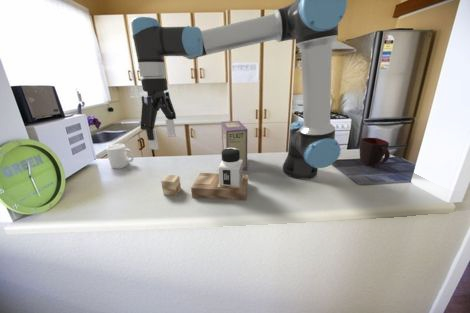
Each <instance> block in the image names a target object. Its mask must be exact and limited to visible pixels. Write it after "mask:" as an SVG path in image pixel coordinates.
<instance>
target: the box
mask: <svg viewBox="0 0 470 313" xmlns="http://www.w3.org/2000/svg"><path fill="white" fill-rule="evenodd" d="M220 125H221V141H222V142H221V143H222V150H224V149H226V148H236V149H238V150H239V151H240V160H243V172H248V128H247V127H246V126H245V125H244V124H243V123H242V122H241V121H240V120H231V121H221V124H220Z"/></svg>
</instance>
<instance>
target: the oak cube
mask: <svg viewBox="0 0 470 313" xmlns="http://www.w3.org/2000/svg"><path fill="white" fill-rule="evenodd" d="M161 187H162V193H163V196H177V195H178V193H179V192H180V191H181V189H182V186H181V179H180V175H179V174H178V175H177V174H166V175H165V176H164V177H163V179H162V180H161Z"/></svg>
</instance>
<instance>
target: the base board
mask: <svg viewBox="0 0 470 313" xmlns="http://www.w3.org/2000/svg"><path fill="white" fill-rule="evenodd" d="M248 181H249V175H248V174H243V177H242V181H241V184H240V187H234V186H222V185H219V173H212V172H211V173H210V172H200V173H198V176H197V177H196V179H195V181H194V182H193V184H192V186H191V187H190V190H191V197H192V198H201V199H218V200H233V201H234V200H235V201H246V199H247V192H248V185H249V183H248Z"/></svg>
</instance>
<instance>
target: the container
mask: <svg viewBox="0 0 470 313" xmlns="http://www.w3.org/2000/svg"><path fill="white" fill-rule="evenodd" d="M217 168H218V174H219V185H222V186H234V187H240V184H241V181H242V177H243V175H244V174H243V172H244V171H243V160H240V151H239V150H238V149H236V148H226V149H224V150H223V149H222V150H221V162H220V164H219V165H218V167H217Z"/></svg>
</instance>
